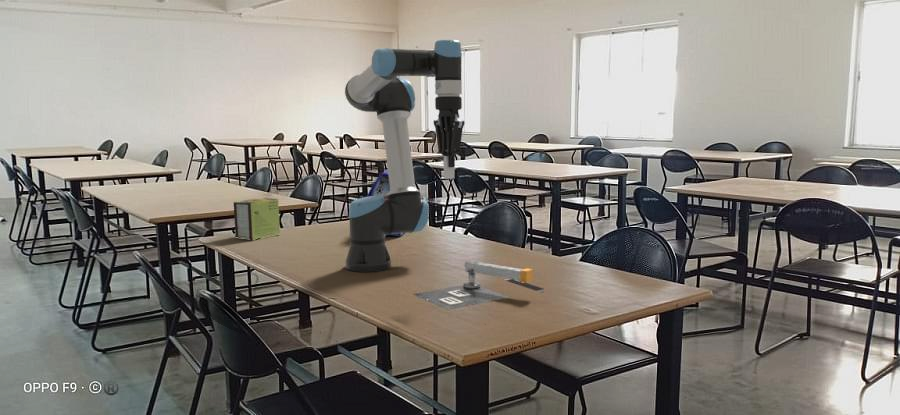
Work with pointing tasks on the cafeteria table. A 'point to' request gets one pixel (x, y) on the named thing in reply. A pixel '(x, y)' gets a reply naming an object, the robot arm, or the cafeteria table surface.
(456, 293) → the label
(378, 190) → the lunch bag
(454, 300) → the label
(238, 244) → the cafeteria table surface
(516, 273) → the swing arm
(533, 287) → the smartphone
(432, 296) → the board
